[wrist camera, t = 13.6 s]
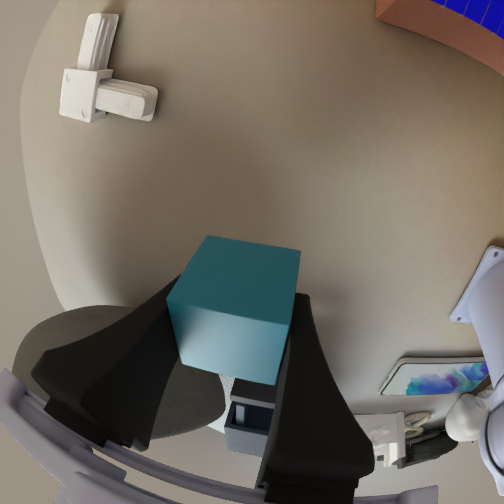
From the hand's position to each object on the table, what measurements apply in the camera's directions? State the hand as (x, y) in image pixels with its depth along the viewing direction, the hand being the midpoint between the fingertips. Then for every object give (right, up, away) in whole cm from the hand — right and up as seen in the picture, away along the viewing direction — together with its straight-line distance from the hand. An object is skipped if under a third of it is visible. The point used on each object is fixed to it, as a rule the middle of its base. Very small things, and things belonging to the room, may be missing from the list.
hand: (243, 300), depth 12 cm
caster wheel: (+35, -29, +17) cm, 49 cm away
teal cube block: (0, +1, +1) cm, 1 cm away
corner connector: (-9, +15, +3) cm, 17 cm away
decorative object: (+24, -26, +22) cm, 42 cm away
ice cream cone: (+36, -9, +6) cm, 38 cm away
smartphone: (+22, -12, +13) cm, 28 cm away
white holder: (+16, -24, +23) cm, 37 cm away
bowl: (-13, -3, +12) cm, 18 cm away
